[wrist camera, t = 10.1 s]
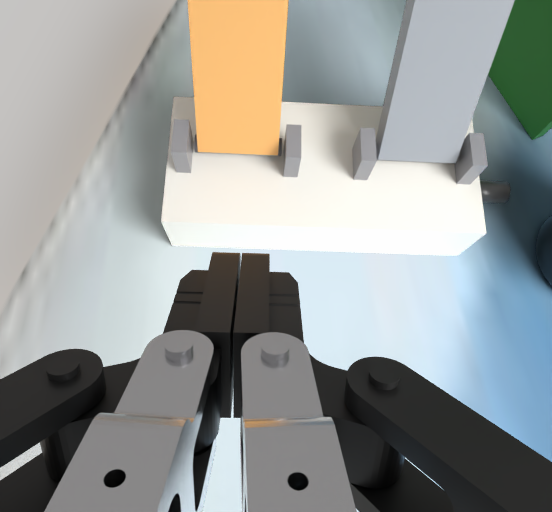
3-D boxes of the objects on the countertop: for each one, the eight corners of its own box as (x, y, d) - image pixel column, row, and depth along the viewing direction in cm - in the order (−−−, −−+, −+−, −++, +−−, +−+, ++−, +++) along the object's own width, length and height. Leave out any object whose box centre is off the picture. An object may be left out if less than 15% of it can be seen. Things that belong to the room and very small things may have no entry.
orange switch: (280, 148, 28) (295, -63, 21) (281, 161, 27) (297, -55, 20) (197, 144, 28) (182, -70, 21) (194, 158, 27) (178, -62, 20)
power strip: (488, 147, 34) (539, 90, 28) (503, 257, 31) (562, 220, 25) (182, 133, 33) (167, 71, 27) (172, 246, 30) (153, 204, 24)
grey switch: (450, 155, 29) (522, -49, 21) (456, 169, 28) (534, -41, 20) (369, 152, 28) (414, -56, 21) (372, 165, 27) (421, -48, 20)
